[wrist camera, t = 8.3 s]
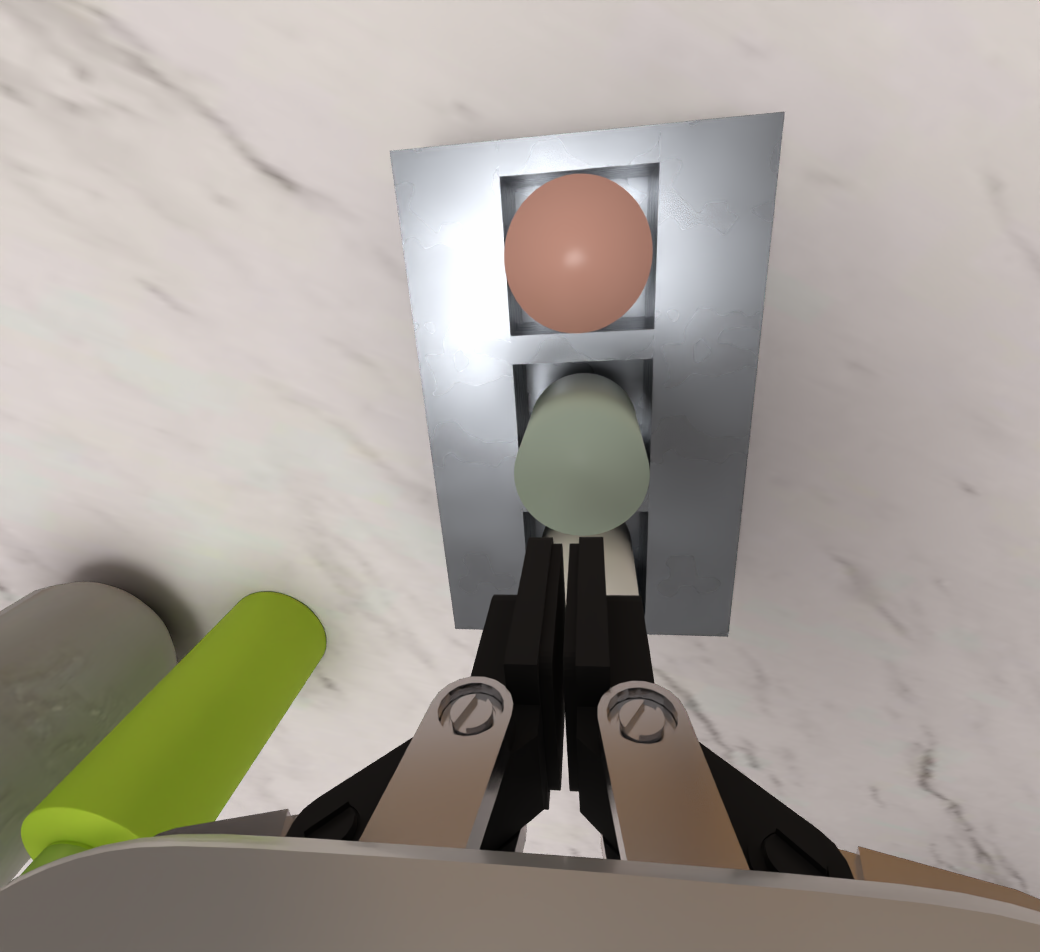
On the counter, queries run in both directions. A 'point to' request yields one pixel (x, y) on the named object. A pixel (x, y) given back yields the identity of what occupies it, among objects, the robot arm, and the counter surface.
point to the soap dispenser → (185, 734)
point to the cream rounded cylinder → (606, 558)
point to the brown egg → (578, 253)
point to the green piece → (582, 457)
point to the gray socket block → (596, 347)
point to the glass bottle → (67, 689)
